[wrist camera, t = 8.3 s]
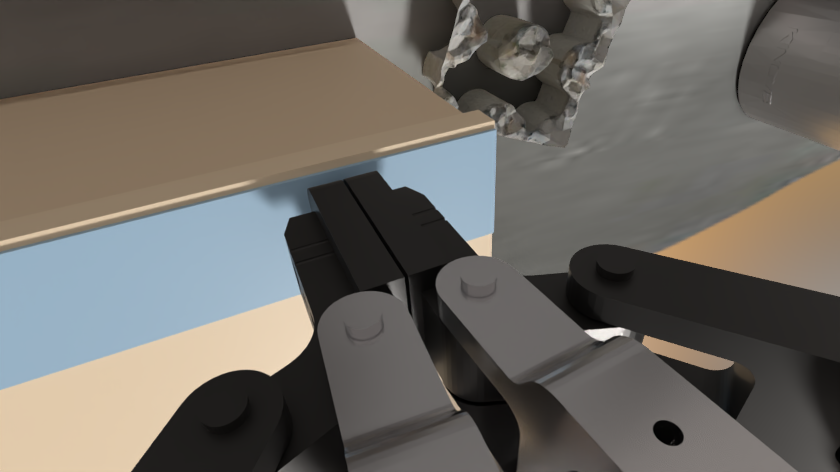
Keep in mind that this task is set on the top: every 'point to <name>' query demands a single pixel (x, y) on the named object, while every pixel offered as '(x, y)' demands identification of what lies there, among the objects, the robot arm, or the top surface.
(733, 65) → the top surface
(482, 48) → the egg carton
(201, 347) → the box lid
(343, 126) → the cardboard box
